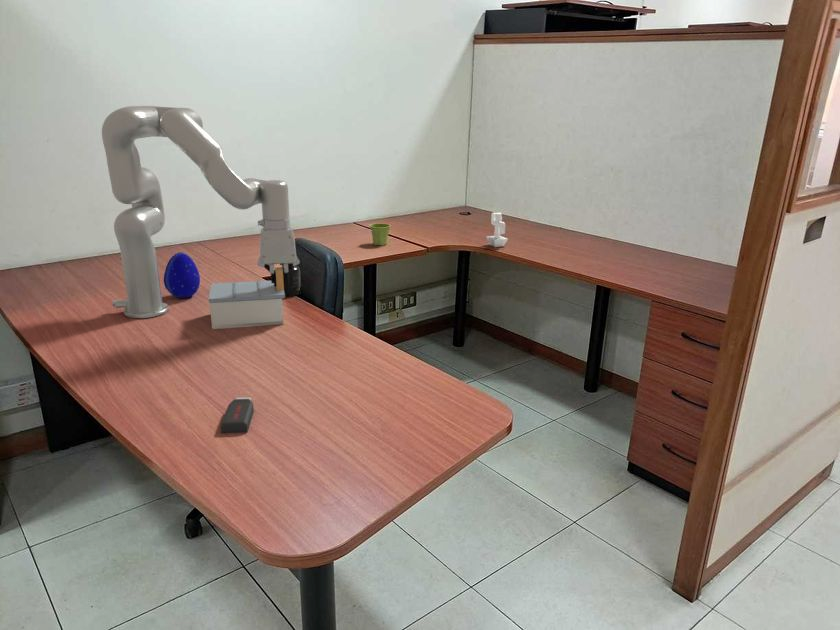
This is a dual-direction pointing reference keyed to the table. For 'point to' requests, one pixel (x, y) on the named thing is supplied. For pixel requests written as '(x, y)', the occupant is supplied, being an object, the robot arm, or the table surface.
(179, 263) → the ornament
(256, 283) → the tub lid
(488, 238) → the figurine
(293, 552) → the table surface
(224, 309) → the box
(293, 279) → the supplement bottle
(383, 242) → the plant pot
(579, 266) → the table surface
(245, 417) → the usb drive
